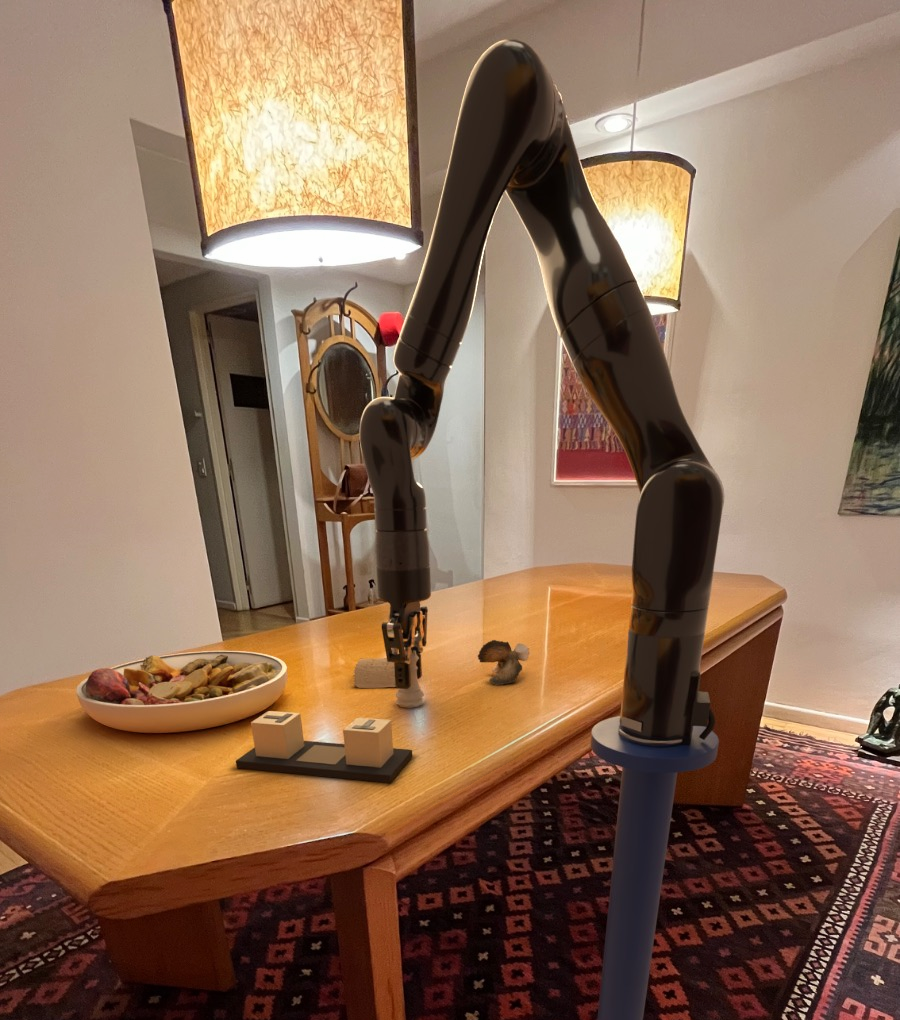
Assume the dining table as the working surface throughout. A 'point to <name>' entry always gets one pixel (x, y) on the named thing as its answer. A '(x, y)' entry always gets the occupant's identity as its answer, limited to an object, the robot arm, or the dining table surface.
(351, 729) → the tile
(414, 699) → the rook chess piece
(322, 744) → the word mat
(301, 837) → the dining table surface
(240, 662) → the bowl
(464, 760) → the dining table surface
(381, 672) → the clay tablet
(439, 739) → the dining table surface
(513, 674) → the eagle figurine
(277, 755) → the tile
